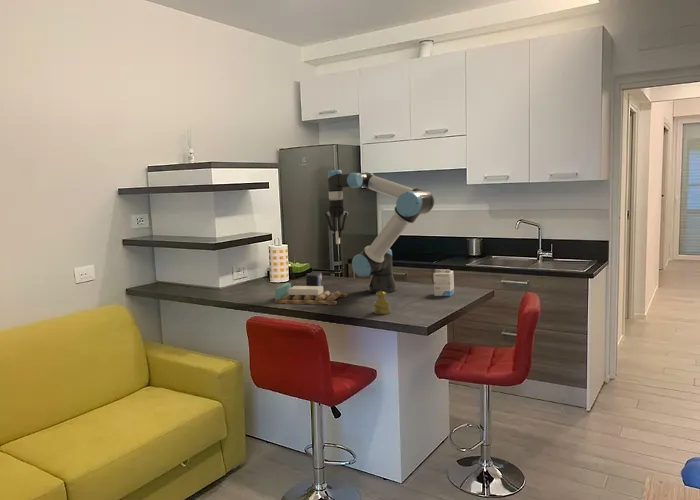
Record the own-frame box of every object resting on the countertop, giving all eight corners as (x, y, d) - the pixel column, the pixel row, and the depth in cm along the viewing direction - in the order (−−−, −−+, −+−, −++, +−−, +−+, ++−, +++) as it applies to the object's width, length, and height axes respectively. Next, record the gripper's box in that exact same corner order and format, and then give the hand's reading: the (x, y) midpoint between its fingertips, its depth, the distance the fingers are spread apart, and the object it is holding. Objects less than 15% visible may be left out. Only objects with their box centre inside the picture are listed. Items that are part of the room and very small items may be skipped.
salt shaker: (375, 310, 255) (375, 289, 254) (391, 310, 253) (391, 289, 251) (371, 314, 248) (371, 292, 247) (388, 314, 246) (387, 292, 244)
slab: (323, 292, 285) (323, 286, 285) (318, 295, 278) (318, 289, 277) (294, 291, 290) (294, 285, 289) (288, 294, 282) (288, 288, 282)
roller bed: (347, 296, 288) (346, 290, 287) (335, 304, 270) (335, 298, 269) (290, 295, 297) (289, 289, 296) (275, 303, 279) (275, 296, 278)
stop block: (291, 296, 294) (290, 283, 293) (281, 302, 281) (280, 288, 280) (286, 296, 295) (285, 283, 294) (275, 302, 281) (274, 288, 281)
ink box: (454, 293, 285) (454, 267, 283) (450, 296, 277) (449, 270, 275) (438, 292, 288) (437, 266, 286) (433, 295, 281) (433, 269, 279)
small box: (318, 294, 296) (317, 275, 295) (306, 294, 297) (305, 275, 296) (323, 290, 306) (322, 271, 305) (311, 290, 308) (310, 271, 306)
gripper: (349, 198, 295) (351, 242, 298) (326, 199, 299) (328, 242, 302) (345, 199, 288) (347, 244, 291) (322, 200, 291) (324, 244, 294)
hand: (338, 243), depth 296 cm, fingers closed
